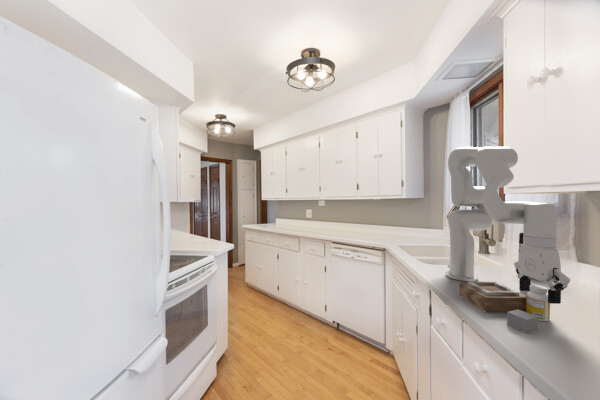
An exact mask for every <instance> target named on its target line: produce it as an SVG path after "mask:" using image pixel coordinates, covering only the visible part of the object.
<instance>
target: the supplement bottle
mask: <svg viewBox="0 0 600 400" xmlns="http://www.w3.org/2000/svg"><path fill="white" fill-rule="evenodd" d="M526 312H527V313H529V314H532V315H535V316H537V317H538V322H539V321H540V322H548V321H550V316H551V303H549V302H548V288H547V287H546V286H543V285H539V284H538V285H537V284H531V285H530V291H529V292H527V298H526Z"/></svg>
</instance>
